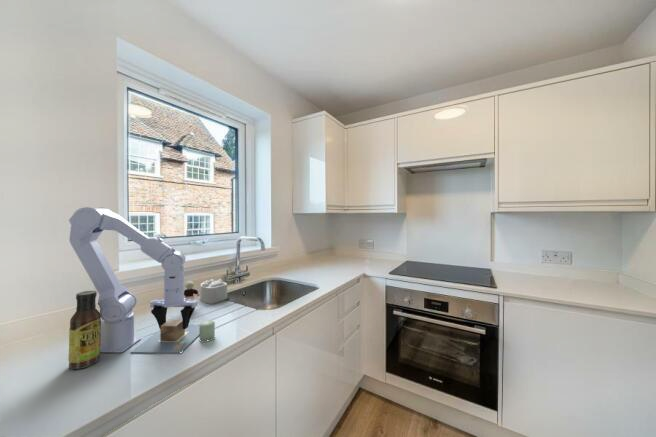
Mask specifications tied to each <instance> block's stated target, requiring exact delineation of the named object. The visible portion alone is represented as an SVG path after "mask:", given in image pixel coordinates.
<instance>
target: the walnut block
mask: <svg viewBox="0 0 656 437" xmlns="http://www.w3.org/2000/svg"><path fill="white" fill-rule="evenodd" d="M159 331H160V341H177V340H178V339H179V338H180V337H181V336H183V335H184V334H185V329H183V320H182V318H178V319H177V318H176V319H175V318H171V319H169V320H166V322H165V323H164V324H163V325H161V326H160V328H159Z"/></svg>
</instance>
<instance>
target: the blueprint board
mask: <svg viewBox="0 0 656 437" xmlns="http://www.w3.org/2000/svg"><path fill="white" fill-rule="evenodd" d="M200 324H201V323H199V324H194V323H193V324H190V323H189V325H188V327H187V328H186V329H185V334H184V335H183V336H181V337H180V338H179V339H178V340H177V341H160V330H158V331H157V332H156V333H154V334H153V335H151V336H150V337H149V338H148V339H146V340H145V341H143V342H142V343H141V344H139V345H138V346H137V347H136V348H134V349H133V350H132V351H130V354H181V353H180V352H182V351H183V352H185V351H186V349H188V347H189V346H190V345H191V344H192V343H193V342H195V340H196V339H198V337H199V327H200ZM183 352H182V353H183Z"/></svg>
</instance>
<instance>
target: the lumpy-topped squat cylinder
mask: <svg viewBox="0 0 656 437" xmlns="http://www.w3.org/2000/svg"><path fill="white" fill-rule="evenodd" d="M199 288H200V289H199V297H200V298H199V301H201V302H202V303H205V304H216V303H219V302H221V301H222V302H223V301H226V300H227V299H228V283H227V282H225V281H224V280H223V279H221V278H219V279H218V280H215V279H213V278H211V279H210V280H205V281H203V282H202V283H201V282H200V286H199Z"/></svg>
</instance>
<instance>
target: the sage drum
mask: <svg viewBox="0 0 656 437" xmlns="http://www.w3.org/2000/svg"><path fill="white" fill-rule="evenodd" d="M199 324H200V327H199V336H198V337H199V339H200V340H201V341H207V340H211V339H212V340H214V339H215V337H214V336H216V334H215V333H216V332H215V330H216V329H215V328H216V326H215V325H216V323H215V321H213V320H205V321H202V322H200V323H199ZM213 338H214V339H213ZM199 339H198V340H199ZM200 340H199V341H200ZM212 340H211V341H212ZM201 341H200V342H201ZM207 342H208V341H207Z"/></svg>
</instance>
